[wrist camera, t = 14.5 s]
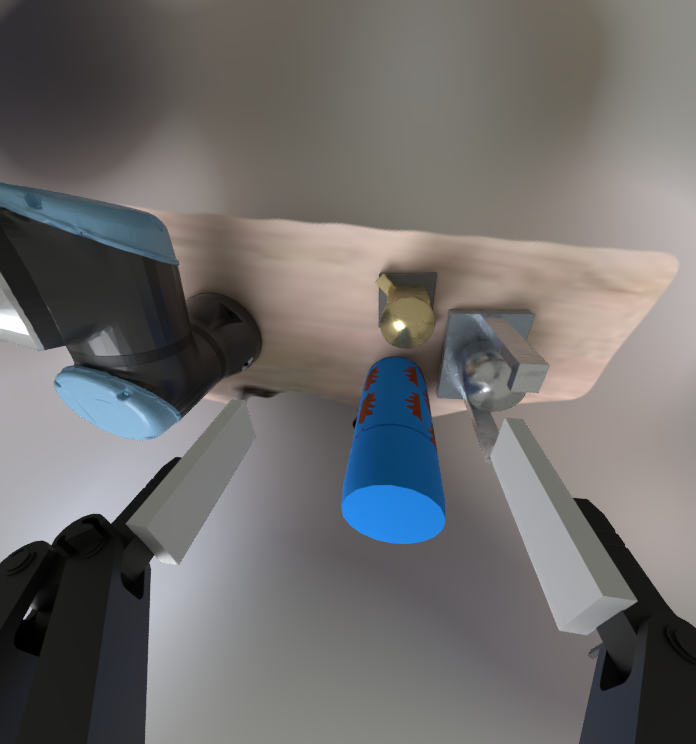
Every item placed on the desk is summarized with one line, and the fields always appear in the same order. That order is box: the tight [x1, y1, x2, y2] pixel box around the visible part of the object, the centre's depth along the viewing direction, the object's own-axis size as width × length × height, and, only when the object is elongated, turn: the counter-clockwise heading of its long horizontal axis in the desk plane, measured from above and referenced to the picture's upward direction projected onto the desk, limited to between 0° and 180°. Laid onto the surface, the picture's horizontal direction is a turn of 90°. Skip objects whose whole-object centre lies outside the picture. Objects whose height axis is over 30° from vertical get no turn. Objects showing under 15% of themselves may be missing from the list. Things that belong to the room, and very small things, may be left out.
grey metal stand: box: [436, 310, 550, 464], centre depth 35 cm, size 11×15×16 cm
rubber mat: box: [379, 272, 437, 327], centre depth 39 cm, size 8×8×1 cm
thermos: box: [342, 357, 445, 544], centre depth 37 cm, size 11×11×25 cm
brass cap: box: [375, 273, 435, 348], centre depth 34 cm, size 11×7×9 cm, turn 48°
